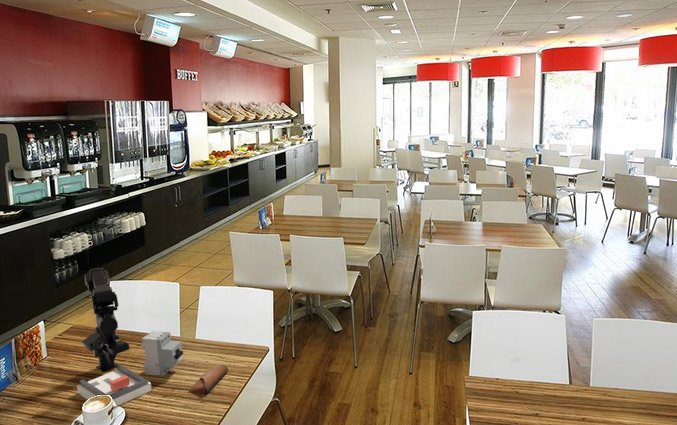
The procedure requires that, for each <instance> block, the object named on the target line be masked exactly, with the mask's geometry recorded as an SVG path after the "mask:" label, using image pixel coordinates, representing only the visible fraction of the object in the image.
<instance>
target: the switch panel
mask: <svg viewBox="0 0 677 425" xmlns="http://www.w3.org/2000/svg"><path fill="white" fill-rule="evenodd" d="M122 376H125V374H123V373H122V372H120V371H118V370H117V369H115V370H114V371H111V372H108V373H106V374H103V375H101V376H98V377H96V378H93V379H91V380H88V381H87V382H88V383H90V384H91V385H93V386H94V387H96V388H97V389H99V390H100V391H102V392H104V393H105V394H107V395H111V394H113V393H115V392H117V391H119V390H116V391H112V390H111V388H110V381H113V380H115V379H118V378H120V377H122ZM126 376H127V375H126ZM128 377H129V376H128ZM136 383H138V382H137V381H136V380H134V379H132V378H130V377H129V384H130V385H128V386H126V387H123V389H124V388H127V387H129V386H131V385H134V384H136ZM76 387H77V388H76V389H77V394H79V395H80V396H81V397H83V398H84V399H85V400H87V399H89V398H91V397H94V396H96V395H94V394H93V393H91V392H90V391H88V390H87V389H85V388H84V387H82V386H81V385H80V384H78V385H76ZM152 390H153V389H152V383H151V382H150V381H148V385H145V386H143V387H141V388H139V389H136V390H134V391H132V392H130V393H127V394H125V395H123V396H121V397H118V398H116V399H114V400H113V401H114V402H115V404H116V405H119V406H121V405H124V404H125V403H127V402H129V401H131V400H134V399H136V398H139V397H140V396H142V395H145V394H146V393H149V392H152Z"/></svg>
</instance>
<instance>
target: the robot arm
mask: <svg viewBox="0 0 677 425" xmlns="http://www.w3.org/2000/svg"><path fill="white" fill-rule="evenodd" d="M109 281H110V276H109V272H108V270H106V269H104V267H97V268H91V269H90V270H89V271H88V272H86V273H85V274H84V283H85V284H84V285H85V286H87V289H88V291H89V292H90V293H91V294H92V295H91V296H90V297H91V304H92V309H93V314H94V315H95V320H96V327H95V328H94V329H95V330H94V331H95V332H93V333H90V335H89V336H87V337H85V339H83V340H82V341H81V342H82V344H83V347H85V349H86V350H89V352H93V354H94V357H95V358H98V365H96V366H95V368H96V369H98V370H99V371H100V372H102V373H105V372H107V371H111V370H114V369H115V368H116V369H117V366H118V365H119V364H117V363H116V362H115V359H116V356H117V355H119V354H121V353H124V352H127V351H128V350H130V344H129V343H128V342H127V341H125V340H122V339H120V336H119V335H117V329H119V323H118V320H117V317H116V316H115V311H118V307H119V301H118V300H119V299H118V295H117V293H116V292H115V291H113V289H112V287H111V286H110V285H108V283H109ZM119 339H120V340H119Z"/></svg>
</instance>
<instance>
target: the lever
mask: <svg viewBox="0 0 677 425" xmlns="http://www.w3.org/2000/svg"><path fill="white" fill-rule="evenodd" d="M128 385H130V384H129V377H128V376H126V375H125V376H122V377H120V378H118V379H115V380H113V381H110V388H111V390H112V391H116V390H119V391H120V390H122V389H123V387H126V386H128Z"/></svg>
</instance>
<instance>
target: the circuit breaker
mask: <svg viewBox="0 0 677 425" xmlns="http://www.w3.org/2000/svg"><path fill="white" fill-rule="evenodd" d="M141 340H142V342H141V348H142V349H143V350H144V355H145V356H144V357H145V358H144V359H145V362H144V363H143V368H144V372H145V373H144V374H145V375H152V376H163V377H164V376H165V375H166V374H168V372H169V371H170V370H172V368H175V367H176V366H177V364H179V363H180V362H181V361H182V360H183V358H184V357H183V354H184V351H183V347H182V341H179V340H172V338H171V331H162V330H161V331H159V330H151V331H150V332H149V333H147V334H146V335H145V336H143V337H142V338H141Z"/></svg>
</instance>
